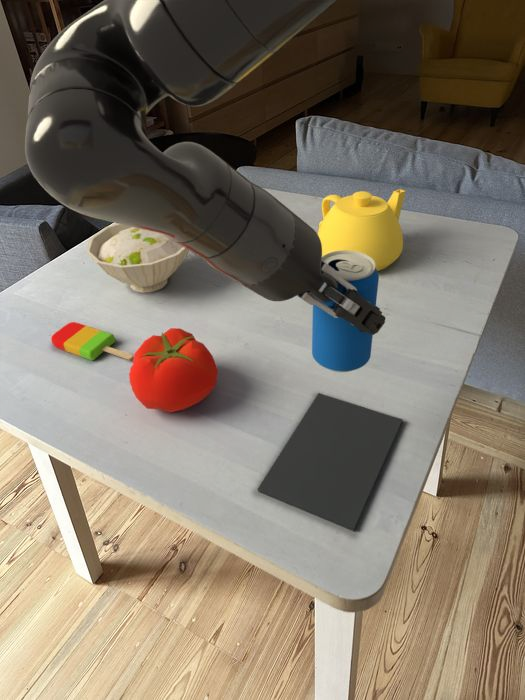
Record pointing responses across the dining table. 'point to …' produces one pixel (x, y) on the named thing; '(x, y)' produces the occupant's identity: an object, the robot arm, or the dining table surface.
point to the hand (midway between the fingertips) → (355, 309)
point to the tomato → (172, 371)
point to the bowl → (136, 256)
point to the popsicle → (86, 341)
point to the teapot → (363, 226)
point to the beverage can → (336, 333)
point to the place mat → (332, 460)
